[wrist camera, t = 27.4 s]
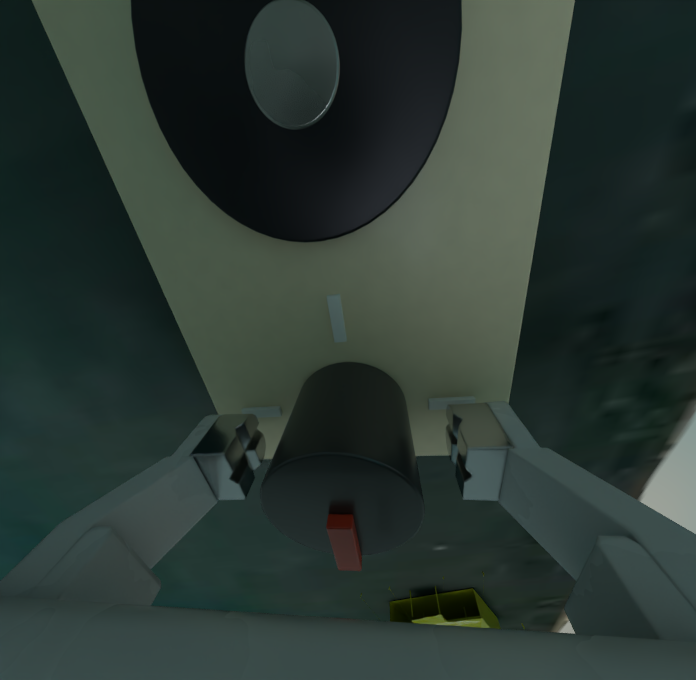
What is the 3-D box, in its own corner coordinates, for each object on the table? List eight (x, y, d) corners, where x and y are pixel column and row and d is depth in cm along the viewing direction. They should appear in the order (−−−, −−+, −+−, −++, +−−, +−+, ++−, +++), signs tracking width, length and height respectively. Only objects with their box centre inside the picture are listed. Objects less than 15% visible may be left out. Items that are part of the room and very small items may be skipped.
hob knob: (288, 365, 8) (229, 468, 5) (403, 356, 8) (428, 466, 4) (310, 446, 10) (277, 569, 6) (407, 444, 9) (428, 575, 6)
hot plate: (130, 20, 7) (-29, -108, 4) (514, -93, 6) (650, -388, 3) (272, 430, 14) (246, 486, 11) (469, 423, 12) (498, 485, 9)
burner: (88, -117, 4) (51, -158, 4) (464, -261, 3) (478, -338, 3) (214, 255, 7) (202, 258, 6) (449, 221, 6) (456, 223, 6)
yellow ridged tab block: (410, 636, 24) (414, 687, 21) (358, 591, 21) (356, 644, 18) (523, 623, 21) (544, 681, 18) (481, 568, 18) (499, 628, 15)
